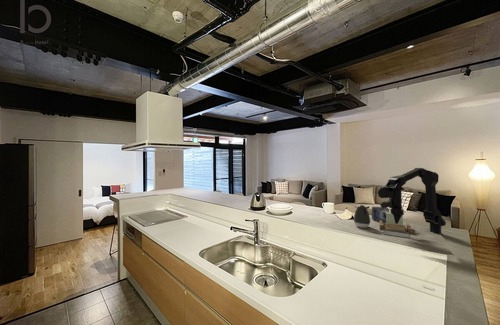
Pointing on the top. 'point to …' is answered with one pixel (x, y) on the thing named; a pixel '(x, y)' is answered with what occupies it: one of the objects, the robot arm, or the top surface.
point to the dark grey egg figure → (362, 217)
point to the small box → (379, 213)
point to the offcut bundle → (395, 227)
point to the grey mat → (396, 234)
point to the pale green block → (391, 219)
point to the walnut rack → (396, 230)
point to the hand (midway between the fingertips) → (396, 222)
